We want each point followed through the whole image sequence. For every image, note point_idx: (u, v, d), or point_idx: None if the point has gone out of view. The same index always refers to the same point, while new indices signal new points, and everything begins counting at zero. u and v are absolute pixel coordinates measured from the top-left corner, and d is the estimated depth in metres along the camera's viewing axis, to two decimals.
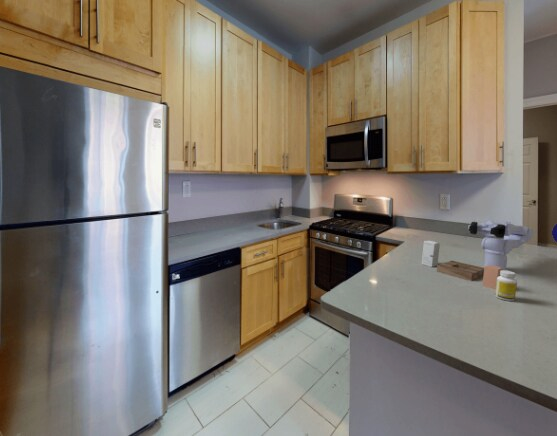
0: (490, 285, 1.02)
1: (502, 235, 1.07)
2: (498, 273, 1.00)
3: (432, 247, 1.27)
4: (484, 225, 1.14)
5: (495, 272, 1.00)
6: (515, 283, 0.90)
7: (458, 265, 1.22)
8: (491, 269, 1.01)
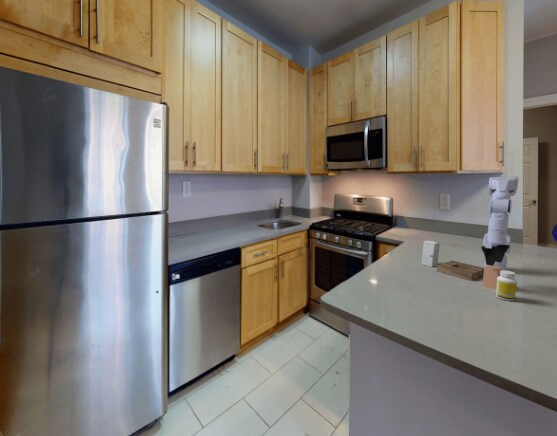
0: (490, 285, 1.02)
1: None
2: (498, 273, 1.00)
3: (432, 247, 1.27)
4: None
5: (495, 272, 1.00)
6: (515, 283, 0.90)
7: (458, 265, 1.22)
8: (491, 269, 1.01)
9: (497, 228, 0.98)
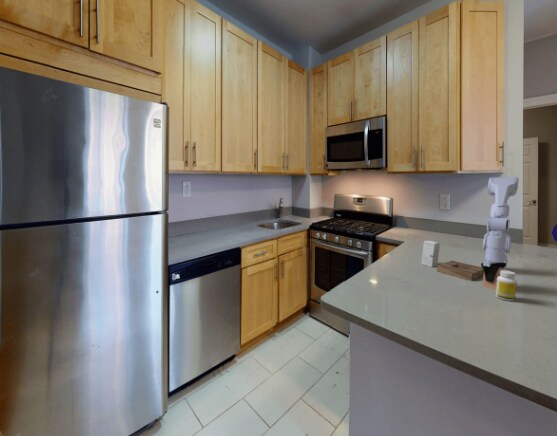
0: (490, 285, 1.02)
1: None
2: (498, 273, 1.00)
3: (432, 247, 1.27)
4: None
5: None
6: (515, 283, 0.90)
7: (458, 265, 1.22)
8: None
9: (495, 246, 0.99)
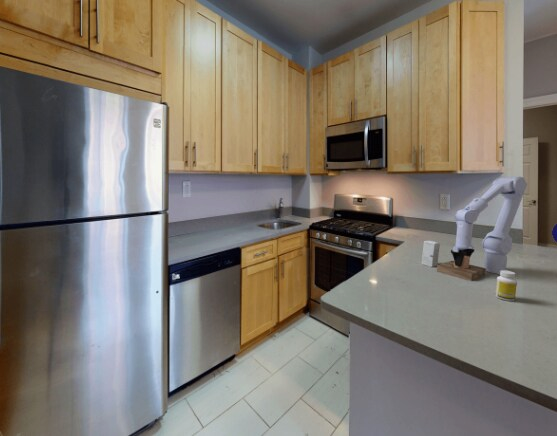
0: None
1: None
2: (466, 261, 1.16)
3: (432, 247, 1.27)
4: None
5: (463, 260, 1.15)
6: (515, 283, 0.90)
7: None
8: None
9: (458, 234, 1.16)
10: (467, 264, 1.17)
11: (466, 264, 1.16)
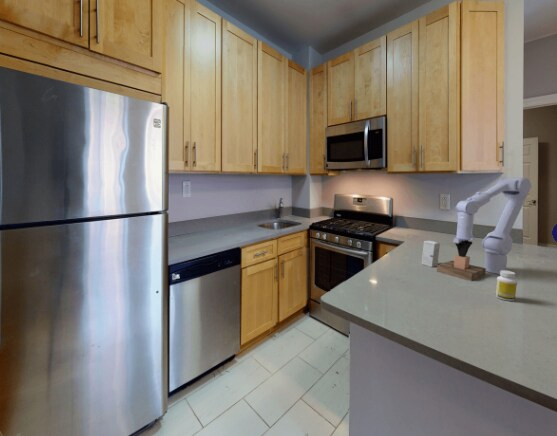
0: None
1: None
2: (465, 261, 1.16)
3: (432, 247, 1.27)
4: None
5: (463, 260, 1.16)
6: (515, 283, 0.90)
7: None
8: (460, 258, 1.17)
9: (459, 225, 1.16)
10: (467, 264, 1.17)
11: (466, 264, 1.16)
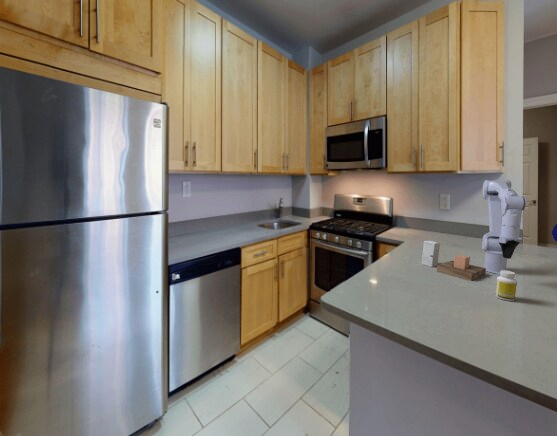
0: None
1: None
2: (465, 261, 1.16)
3: (432, 247, 1.27)
4: None
5: (463, 260, 1.16)
6: (515, 283, 0.90)
7: None
8: (460, 258, 1.17)
9: (513, 224, 1.02)
10: (467, 264, 1.17)
11: (466, 264, 1.16)
